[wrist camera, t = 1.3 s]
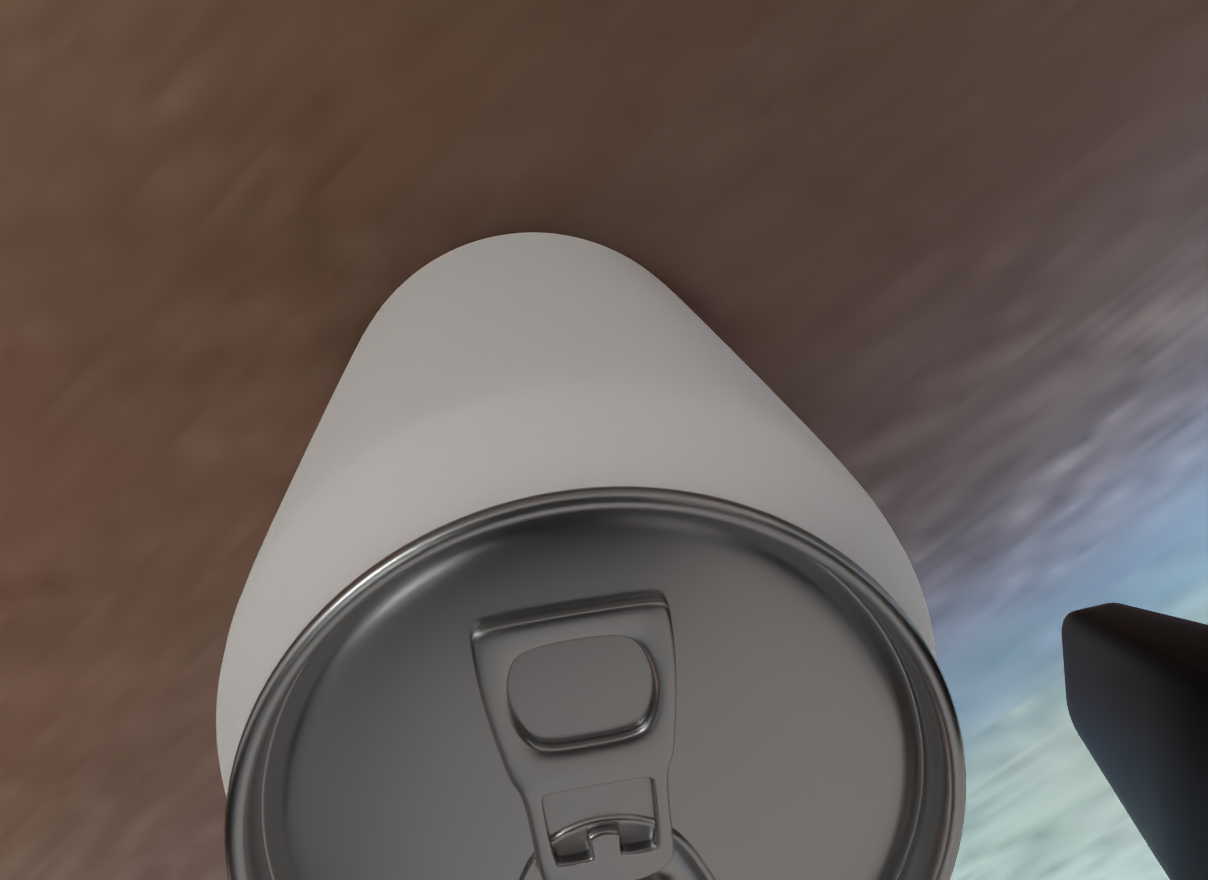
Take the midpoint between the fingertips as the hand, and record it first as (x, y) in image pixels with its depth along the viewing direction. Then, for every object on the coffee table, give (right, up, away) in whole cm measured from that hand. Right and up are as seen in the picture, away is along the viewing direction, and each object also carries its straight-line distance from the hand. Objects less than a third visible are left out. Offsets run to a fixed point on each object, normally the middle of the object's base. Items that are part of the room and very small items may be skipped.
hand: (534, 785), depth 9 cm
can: (-1, +3, +11) cm, 12 cm away
